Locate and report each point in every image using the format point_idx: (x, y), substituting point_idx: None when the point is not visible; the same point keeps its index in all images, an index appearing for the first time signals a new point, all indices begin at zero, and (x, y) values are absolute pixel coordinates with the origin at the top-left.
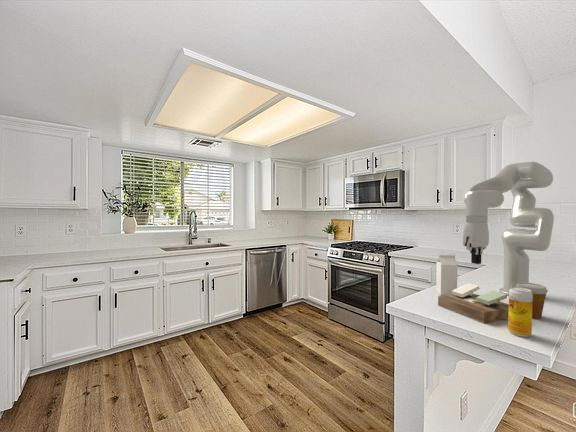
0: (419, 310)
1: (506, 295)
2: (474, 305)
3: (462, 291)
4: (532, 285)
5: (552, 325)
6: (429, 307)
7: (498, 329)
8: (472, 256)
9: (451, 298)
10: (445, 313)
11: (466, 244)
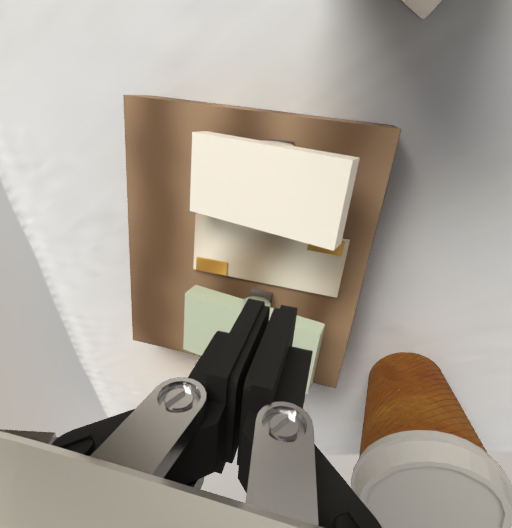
0: (18, 106)
1: (306, 389)
2: (172, 284)
3: (215, 196)
4: (459, 509)
5: (355, 440)
6: (88, 97)
7: (153, 359)
8: (193, 374)
9: (159, 164)
10: (101, 189)
11: (1, 468)
